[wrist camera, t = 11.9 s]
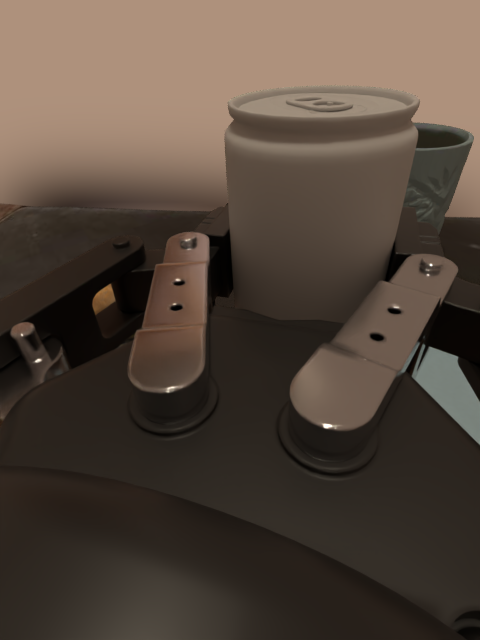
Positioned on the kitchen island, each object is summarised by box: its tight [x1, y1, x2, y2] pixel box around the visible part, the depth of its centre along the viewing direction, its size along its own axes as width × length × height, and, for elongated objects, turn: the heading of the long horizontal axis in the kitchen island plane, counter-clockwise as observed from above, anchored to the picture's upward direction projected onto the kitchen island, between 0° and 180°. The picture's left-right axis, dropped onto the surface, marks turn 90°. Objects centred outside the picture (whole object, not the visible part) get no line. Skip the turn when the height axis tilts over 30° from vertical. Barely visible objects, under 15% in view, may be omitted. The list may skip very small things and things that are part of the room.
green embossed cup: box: [403, 123, 474, 235], centre depth 38 cm, size 10×10×12 cm
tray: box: [415, 347, 480, 445], centre depth 25 cm, size 16×14×2 cm
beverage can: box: [225, 86, 420, 323], centre depth 13 cm, size 5×5×12 cm
